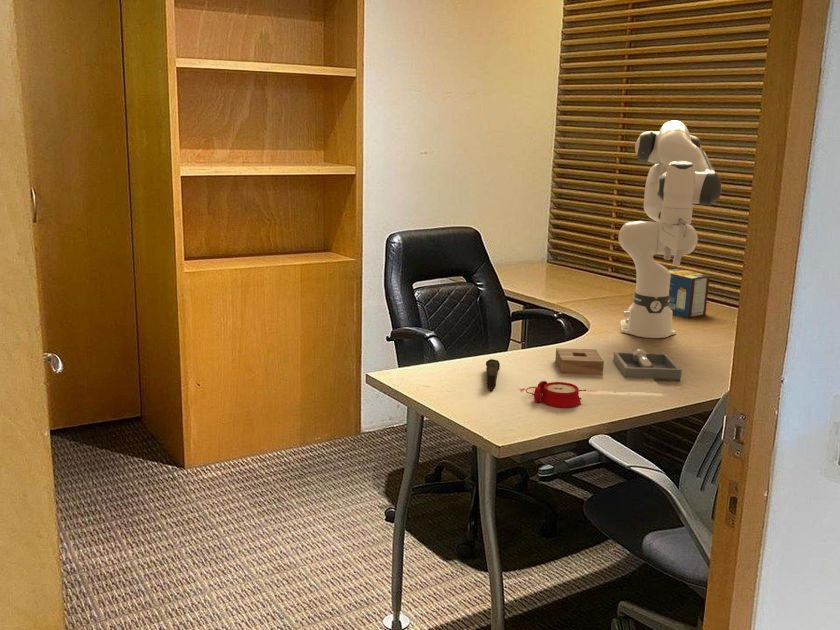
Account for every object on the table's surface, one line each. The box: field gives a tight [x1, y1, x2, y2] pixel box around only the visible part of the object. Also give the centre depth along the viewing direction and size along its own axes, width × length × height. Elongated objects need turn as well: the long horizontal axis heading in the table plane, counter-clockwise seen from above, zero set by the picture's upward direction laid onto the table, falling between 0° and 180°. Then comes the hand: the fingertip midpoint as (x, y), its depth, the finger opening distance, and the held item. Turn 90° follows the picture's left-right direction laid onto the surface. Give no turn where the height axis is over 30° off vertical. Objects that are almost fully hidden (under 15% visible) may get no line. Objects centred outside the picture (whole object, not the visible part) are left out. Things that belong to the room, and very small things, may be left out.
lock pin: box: [632, 348, 653, 368], centre depth 246 cm, size 4×4×9 cm
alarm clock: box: [525, 380, 587, 408], centre depth 219 cm, size 10×6×15 cm
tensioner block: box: [555, 347, 605, 375], centre depth 244 cm, size 12×12×5 cm
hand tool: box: [485, 358, 501, 392], centre depth 233 cm, size 19×4×5 cm, turn 171°
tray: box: [612, 351, 683, 382], centre depth 244 cm, size 16×16×4 cm
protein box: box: [668, 268, 711, 319], centre depth 317 cm, size 10×15×16 cm
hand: (671, 262), depth 249 cm, fingers open, 8 cm apart
